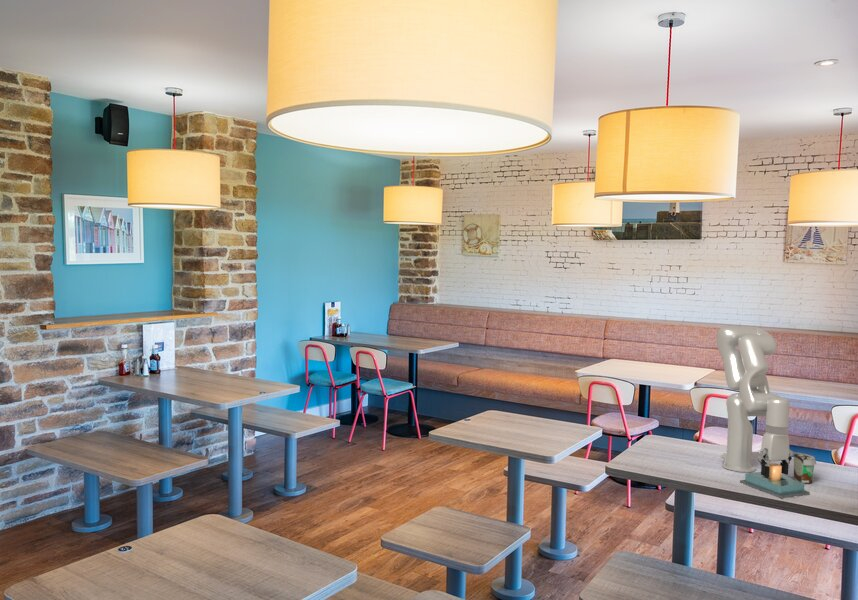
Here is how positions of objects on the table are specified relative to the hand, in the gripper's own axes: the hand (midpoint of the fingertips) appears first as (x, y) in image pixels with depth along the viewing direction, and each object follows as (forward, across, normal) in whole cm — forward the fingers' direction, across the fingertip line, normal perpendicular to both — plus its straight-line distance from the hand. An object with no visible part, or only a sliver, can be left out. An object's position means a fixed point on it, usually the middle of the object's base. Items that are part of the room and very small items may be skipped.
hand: (774, 474), depth 254 cm
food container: (+6, -20, -3) cm, 21 cm away
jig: (+5, 0, 0) cm, 5 cm away
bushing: (+4, 0, 0) cm, 4 cm away
